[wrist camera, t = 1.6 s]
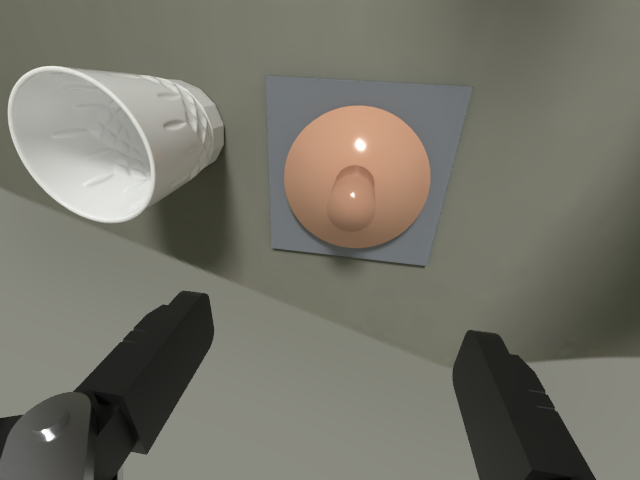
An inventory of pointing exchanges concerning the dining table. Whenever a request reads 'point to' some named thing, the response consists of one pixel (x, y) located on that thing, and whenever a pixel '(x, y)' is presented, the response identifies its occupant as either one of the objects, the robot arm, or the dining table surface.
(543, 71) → the dining table surface
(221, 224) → the dining table surface
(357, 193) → the lid
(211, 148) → the white cup
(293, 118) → the mat
